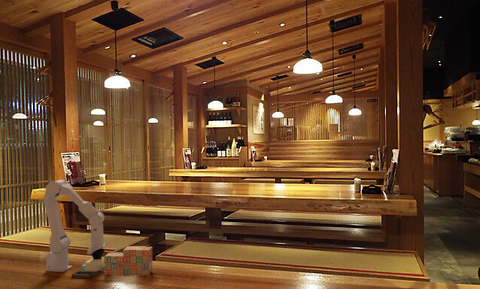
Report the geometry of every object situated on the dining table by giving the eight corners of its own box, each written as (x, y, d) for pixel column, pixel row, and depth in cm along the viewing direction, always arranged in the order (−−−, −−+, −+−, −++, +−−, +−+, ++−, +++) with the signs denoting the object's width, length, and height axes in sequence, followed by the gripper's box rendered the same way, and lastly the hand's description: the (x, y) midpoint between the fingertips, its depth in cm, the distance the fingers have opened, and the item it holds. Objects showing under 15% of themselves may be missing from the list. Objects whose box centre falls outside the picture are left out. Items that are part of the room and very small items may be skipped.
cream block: (85, 272, 183) (85, 262, 183) (91, 269, 188) (91, 259, 188) (94, 273, 182) (94, 262, 182) (100, 269, 187) (100, 259, 187)
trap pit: (71, 277, 176) (71, 274, 176) (78, 273, 181) (78, 270, 181) (91, 278, 175) (91, 275, 175) (97, 274, 179) (97, 271, 179)
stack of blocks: (104, 275, 178) (103, 249, 178) (109, 271, 184) (109, 246, 184) (149, 276, 177) (148, 249, 177) (153, 271, 183) (152, 246, 183)
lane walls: (81, 270, 185) (81, 265, 185) (92, 264, 195) (92, 259, 195) (103, 272, 183) (103, 266, 183) (114, 265, 193) (114, 260, 193)
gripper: (96, 241, 181) (97, 269, 181) (112, 234, 195) (112, 260, 195) (83, 240, 182) (83, 269, 182) (99, 233, 197) (99, 259, 197)
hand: (97, 264), depth 189 cm, fingers closed
